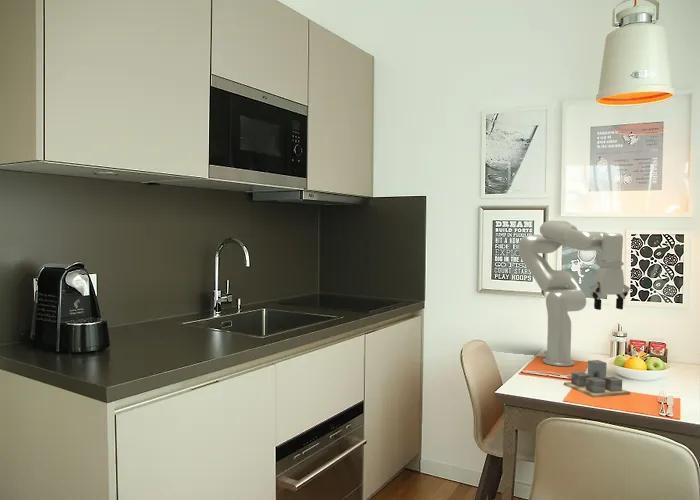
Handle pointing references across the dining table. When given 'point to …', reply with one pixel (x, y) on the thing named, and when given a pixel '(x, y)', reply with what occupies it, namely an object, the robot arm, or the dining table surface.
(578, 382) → the board
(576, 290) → the robot arm
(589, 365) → the dark gray rectangular block
